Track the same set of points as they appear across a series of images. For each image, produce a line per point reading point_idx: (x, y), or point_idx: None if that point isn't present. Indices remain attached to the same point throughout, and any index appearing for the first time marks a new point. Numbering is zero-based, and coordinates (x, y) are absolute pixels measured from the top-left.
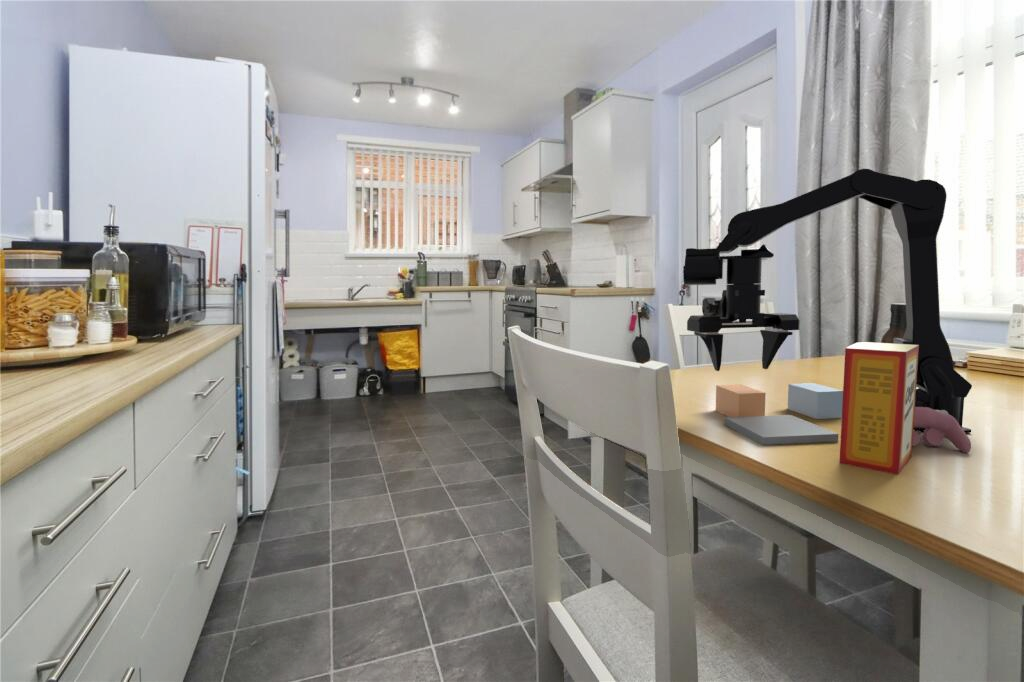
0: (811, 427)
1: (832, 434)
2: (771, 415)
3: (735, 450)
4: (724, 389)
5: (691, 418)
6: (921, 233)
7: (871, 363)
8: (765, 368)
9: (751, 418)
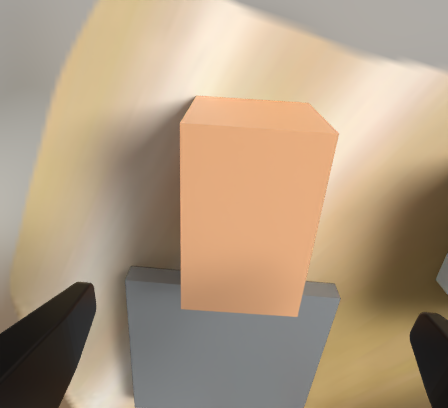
0: (285, 386)
1: None
2: None
3: (72, 398)
4: (181, 204)
5: (54, 186)
6: None
7: None
8: (410, 338)
9: None
